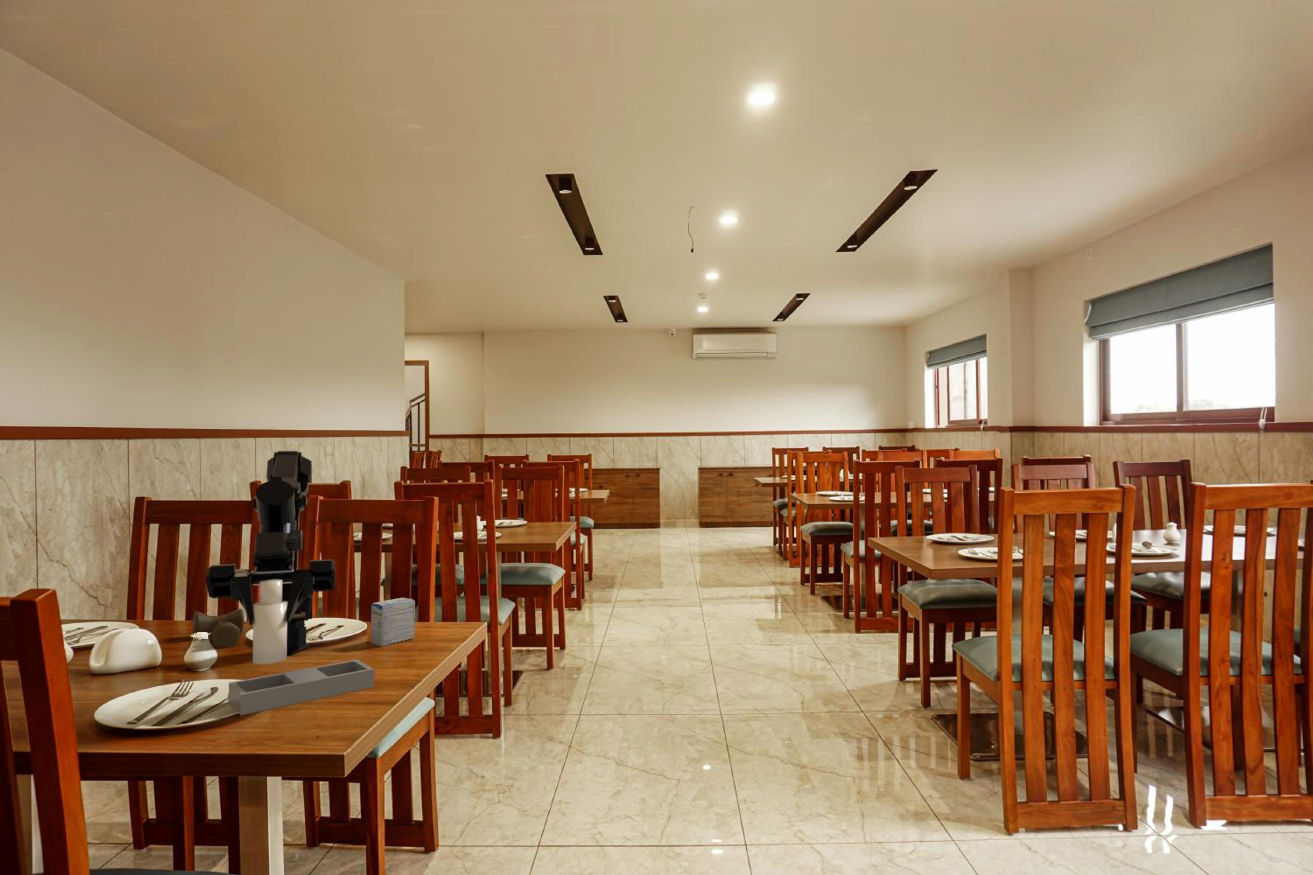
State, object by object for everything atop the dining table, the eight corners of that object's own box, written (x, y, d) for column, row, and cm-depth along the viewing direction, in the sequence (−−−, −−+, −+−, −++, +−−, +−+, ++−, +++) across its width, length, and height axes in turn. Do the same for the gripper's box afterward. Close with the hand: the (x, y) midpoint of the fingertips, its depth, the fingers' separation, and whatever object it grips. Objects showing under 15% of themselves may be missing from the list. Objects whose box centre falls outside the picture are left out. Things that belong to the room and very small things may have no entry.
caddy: (228, 705, 115) (228, 682, 115) (356, 679, 129) (357, 659, 129) (240, 718, 109) (240, 694, 109) (373, 690, 123) (374, 669, 123)
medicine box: (402, 636, 160) (402, 597, 160) (414, 639, 157) (415, 599, 158) (370, 643, 154) (370, 602, 154) (382, 647, 151) (383, 605, 151)
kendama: (198, 654, 147) (189, 632, 163) (252, 648, 153) (238, 627, 169) (200, 625, 147) (190, 606, 163) (253, 619, 153) (239, 602, 169)
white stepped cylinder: (245, 661, 114) (247, 582, 115) (273, 654, 119) (274, 577, 119) (266, 665, 112) (267, 584, 113) (293, 657, 117) (294, 579, 117)
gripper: (208, 515, 116) (194, 596, 106) (335, 511, 123) (334, 587, 113) (215, 557, 123) (202, 638, 113) (335, 552, 131) (334, 627, 120)
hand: (269, 621), depth 114 cm, fingers closed on white stepped cylinder, 5 cm apart
